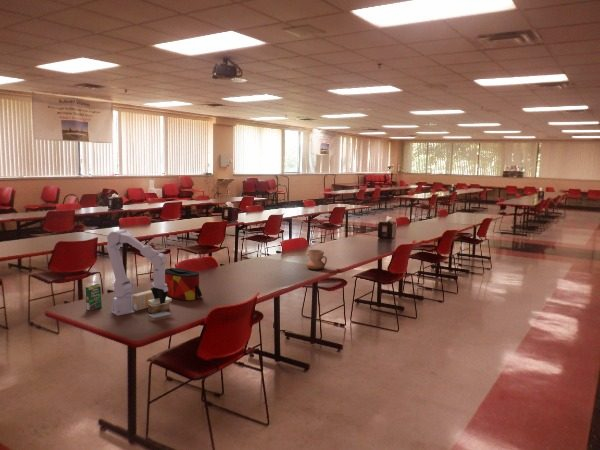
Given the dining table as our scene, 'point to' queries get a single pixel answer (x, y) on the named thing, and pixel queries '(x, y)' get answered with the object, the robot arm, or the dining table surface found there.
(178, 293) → the bag
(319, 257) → the ceramic jug
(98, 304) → the coffee box
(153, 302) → the lid
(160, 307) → the pen box
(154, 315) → the mat
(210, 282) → the dining table surface
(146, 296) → the supplement box
